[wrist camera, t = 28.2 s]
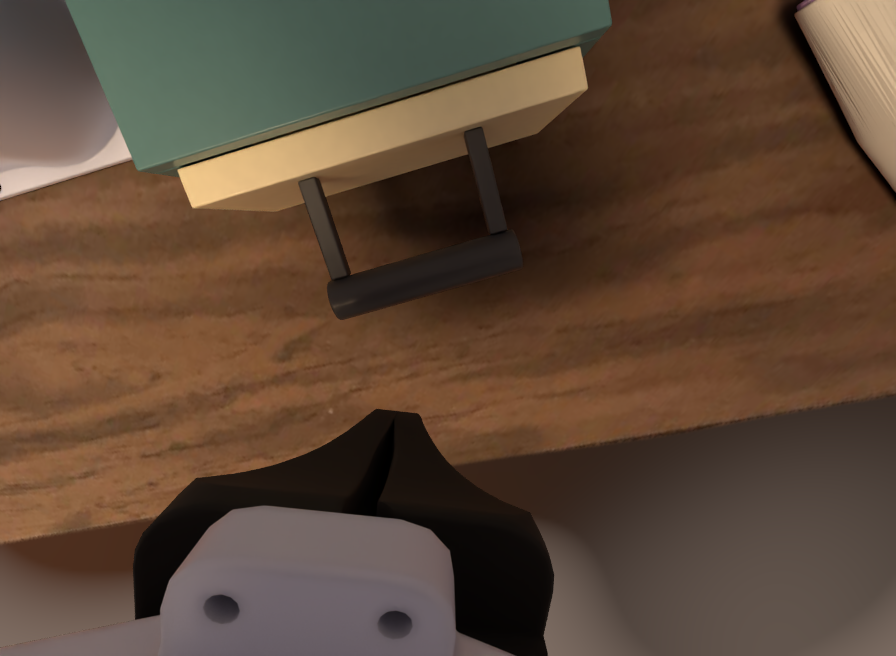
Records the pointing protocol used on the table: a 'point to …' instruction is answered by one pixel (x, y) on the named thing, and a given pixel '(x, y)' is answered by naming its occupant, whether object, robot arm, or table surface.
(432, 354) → the table surface
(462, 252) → the drawer
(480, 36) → the cabinet
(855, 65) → the infrared thermometer
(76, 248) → the table surface
